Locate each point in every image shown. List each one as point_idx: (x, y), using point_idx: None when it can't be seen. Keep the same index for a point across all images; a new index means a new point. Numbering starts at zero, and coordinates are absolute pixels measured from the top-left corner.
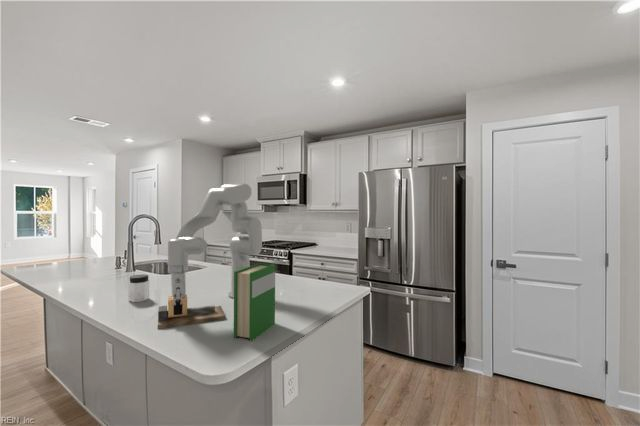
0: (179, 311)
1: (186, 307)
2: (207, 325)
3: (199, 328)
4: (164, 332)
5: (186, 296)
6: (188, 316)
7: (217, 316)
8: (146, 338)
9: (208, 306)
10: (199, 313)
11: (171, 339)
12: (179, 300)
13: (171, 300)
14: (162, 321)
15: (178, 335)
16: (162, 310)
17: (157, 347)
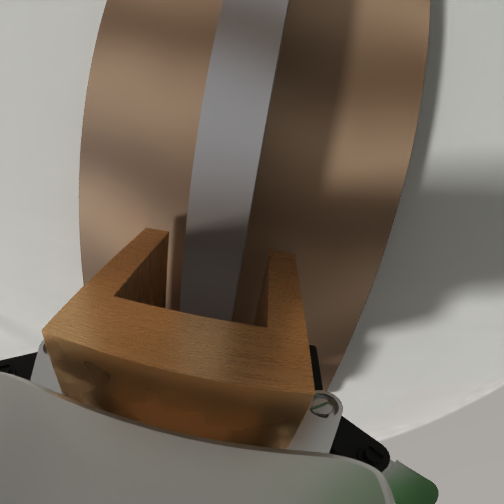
0: (314, 355)
1: (300, 306)
2: (471, 134)
3: (482, 200)
4: (391, 373)
5: (164, 377)
6: (272, 230)
7: (424, 18)
8: (394, 421)
9: (250, 6)
10: (268, 120)
11: (485, 348)
12: (412, 471)
13: None
14: None
15: (477, 321)
16: None
17: (494, 384)
